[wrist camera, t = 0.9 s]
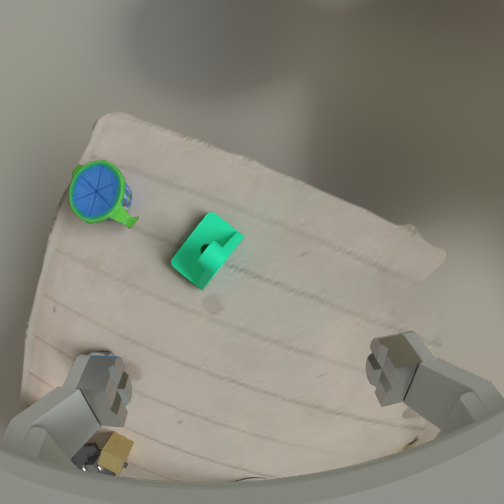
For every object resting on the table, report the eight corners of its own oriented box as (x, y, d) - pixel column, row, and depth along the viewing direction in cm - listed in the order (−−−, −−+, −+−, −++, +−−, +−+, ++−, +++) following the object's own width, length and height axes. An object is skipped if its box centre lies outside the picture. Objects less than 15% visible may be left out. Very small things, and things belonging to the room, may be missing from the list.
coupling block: (137, 443, 56) (127, 462, 48) (131, 457, 56) (122, 476, 48) (111, 429, 55) (98, 447, 47) (106, 443, 55) (94, 461, 47)
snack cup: (159, 210, 57) (144, 201, 47) (120, 248, 56) (98, 247, 46) (113, 155, 56) (93, 138, 46) (77, 191, 56) (52, 181, 46)
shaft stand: (116, 474, 55) (109, 486, 50) (67, 476, 54) (59, 486, 49) (95, 443, 55) (87, 454, 50) (47, 447, 54) (38, 456, 49)
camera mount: (211, 211, 57) (206, 202, 47) (244, 237, 58) (245, 233, 47) (171, 263, 57) (158, 264, 47) (203, 289, 57) (197, 296, 47)
